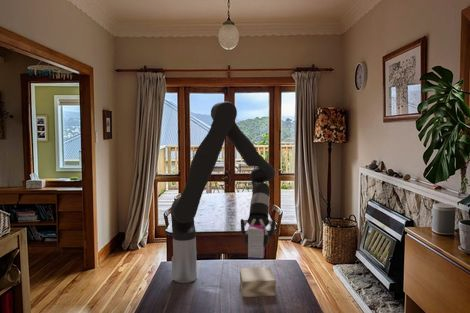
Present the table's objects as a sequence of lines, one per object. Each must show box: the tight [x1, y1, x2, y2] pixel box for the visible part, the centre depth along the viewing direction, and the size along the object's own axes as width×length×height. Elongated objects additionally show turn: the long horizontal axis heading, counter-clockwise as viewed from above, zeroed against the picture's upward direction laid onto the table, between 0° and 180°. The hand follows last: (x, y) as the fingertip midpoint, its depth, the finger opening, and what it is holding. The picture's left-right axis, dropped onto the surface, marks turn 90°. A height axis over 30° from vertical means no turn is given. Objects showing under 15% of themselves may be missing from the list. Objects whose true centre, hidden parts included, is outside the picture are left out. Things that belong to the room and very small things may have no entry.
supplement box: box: [247, 225, 266, 260], centre depth 130 cm, size 6×6×12 cm
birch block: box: [239, 266, 277, 298], centre depth 131 cm, size 12×12×6 cm
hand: (256, 245), depth 128 cm, fingers closed on supplement box, 5 cm apart
